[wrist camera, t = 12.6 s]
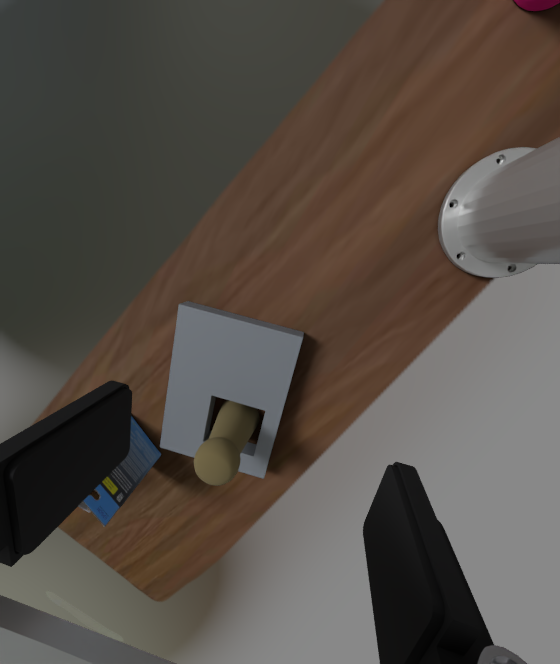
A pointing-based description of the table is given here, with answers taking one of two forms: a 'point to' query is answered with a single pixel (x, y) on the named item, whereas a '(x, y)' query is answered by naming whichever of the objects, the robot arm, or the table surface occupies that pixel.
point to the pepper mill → (536, 4)
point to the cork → (226, 443)
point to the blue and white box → (124, 476)
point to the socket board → (227, 378)
